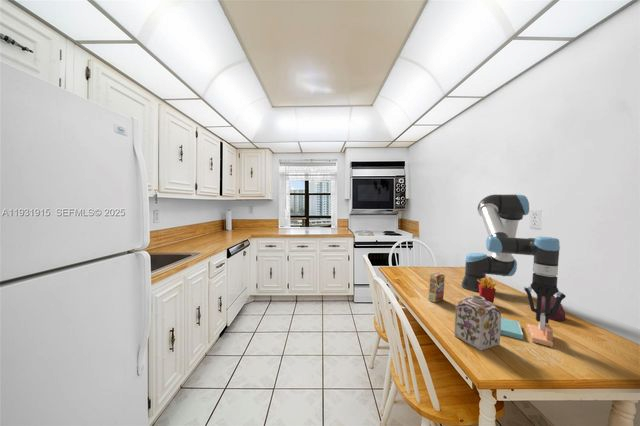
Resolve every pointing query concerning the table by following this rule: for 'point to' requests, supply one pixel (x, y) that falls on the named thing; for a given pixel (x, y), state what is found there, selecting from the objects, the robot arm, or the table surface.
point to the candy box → (436, 287)
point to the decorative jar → (478, 322)
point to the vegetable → (559, 314)
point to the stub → (541, 334)
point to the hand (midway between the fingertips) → (541, 329)
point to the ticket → (511, 328)
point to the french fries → (487, 289)
